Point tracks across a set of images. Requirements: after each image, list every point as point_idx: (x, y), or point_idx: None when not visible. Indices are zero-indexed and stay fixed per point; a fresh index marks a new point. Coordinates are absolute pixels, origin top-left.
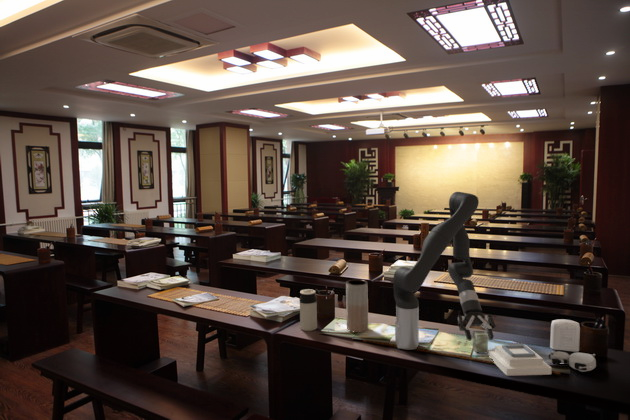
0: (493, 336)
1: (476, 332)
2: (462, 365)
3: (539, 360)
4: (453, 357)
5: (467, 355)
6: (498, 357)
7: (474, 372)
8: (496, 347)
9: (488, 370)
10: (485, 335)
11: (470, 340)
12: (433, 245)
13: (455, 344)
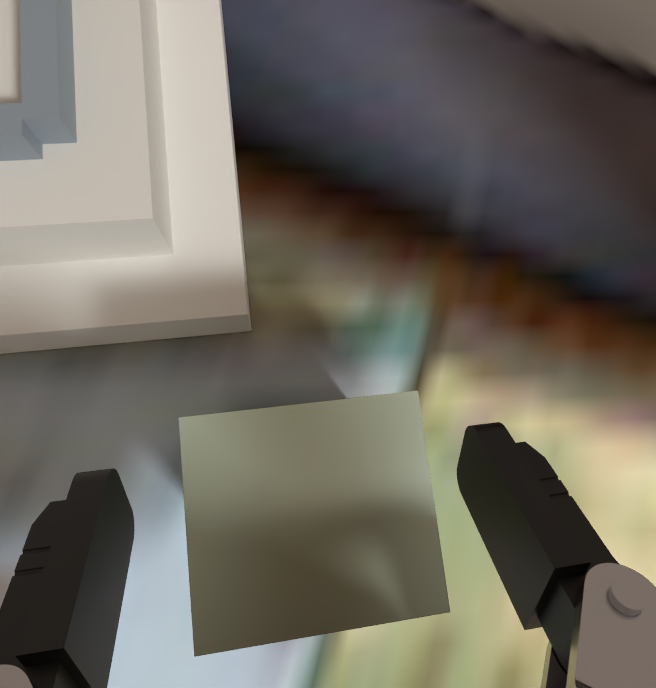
0: (43, 512)
1: (387, 537)
2: (552, 126)
3: None
4: (611, 289)
5: (466, 341)
6: (191, 105)
7: (474, 4)
8: (152, 175)
9: (344, 31)
10: (232, 413)
11: (460, 469)
12: None
13: None
